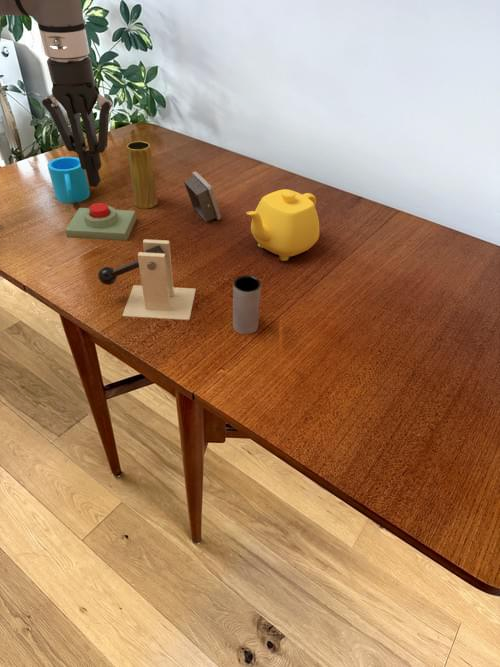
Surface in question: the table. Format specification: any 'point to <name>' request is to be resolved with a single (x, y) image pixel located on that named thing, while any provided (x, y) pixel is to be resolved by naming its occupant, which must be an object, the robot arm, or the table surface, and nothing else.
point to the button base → (102, 225)
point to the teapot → (285, 223)
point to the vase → (142, 175)
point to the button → (99, 210)
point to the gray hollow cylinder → (246, 304)
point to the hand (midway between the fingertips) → (94, 183)
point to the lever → (122, 268)
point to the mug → (68, 180)
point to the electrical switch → (202, 197)
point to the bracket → (158, 288)
